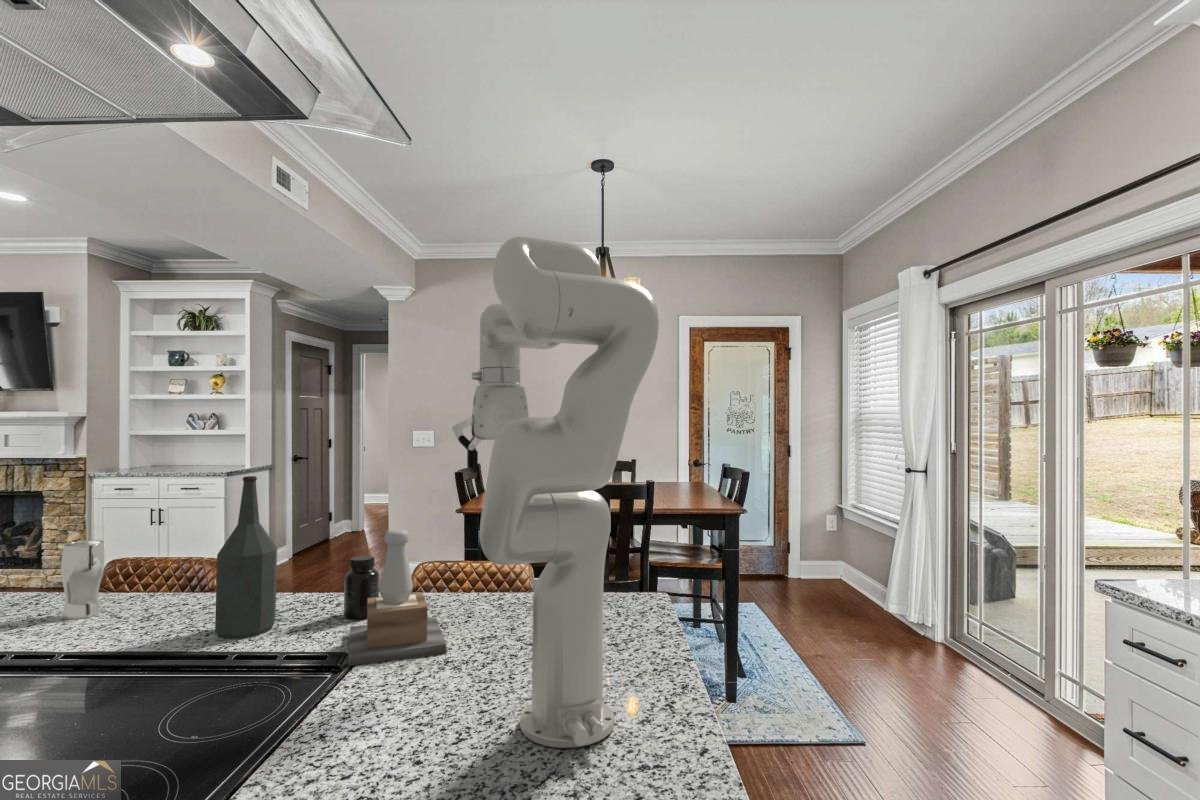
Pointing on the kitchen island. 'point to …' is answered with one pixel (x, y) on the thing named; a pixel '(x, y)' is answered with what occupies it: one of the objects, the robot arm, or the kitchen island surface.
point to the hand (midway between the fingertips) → (499, 471)
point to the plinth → (394, 649)
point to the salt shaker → (396, 569)
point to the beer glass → (82, 577)
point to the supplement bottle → (360, 587)
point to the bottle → (246, 574)
